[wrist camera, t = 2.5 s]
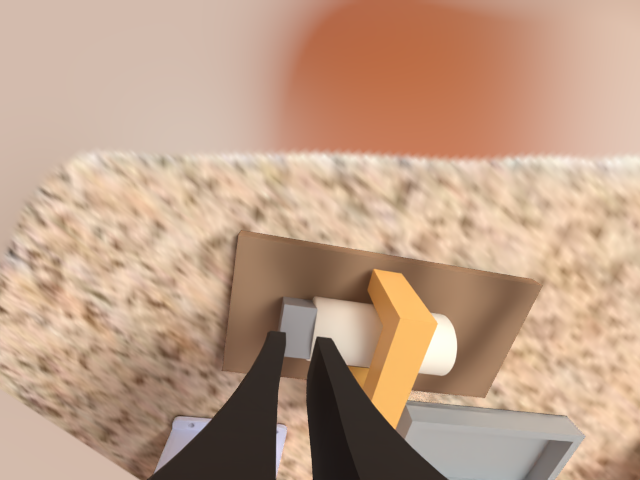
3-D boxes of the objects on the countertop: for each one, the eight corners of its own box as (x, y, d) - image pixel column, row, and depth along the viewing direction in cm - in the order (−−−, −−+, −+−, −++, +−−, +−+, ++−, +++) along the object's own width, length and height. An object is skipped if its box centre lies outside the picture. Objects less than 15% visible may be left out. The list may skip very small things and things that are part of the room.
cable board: (225, 361, 23) (221, 370, 22) (241, 230, 20) (238, 235, 19) (478, 388, 26) (484, 397, 25) (532, 279, 23) (542, 285, 22)
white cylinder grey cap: (274, 345, 21) (274, 367, 17) (284, 288, 21) (286, 297, 17) (420, 362, 22) (452, 386, 18) (428, 309, 22) (460, 321, 18)
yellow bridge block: (340, 381, 23) (352, 455, 18) (373, 268, 20) (400, 318, 14) (365, 384, 23) (384, 457, 18) (401, 273, 20) (437, 323, 15)
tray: (375, 472, 29) (380, 495, 27) (404, 400, 26) (412, 421, 24) (523, 481, 31) (537, 503, 30) (566, 416, 28) (585, 436, 26)
